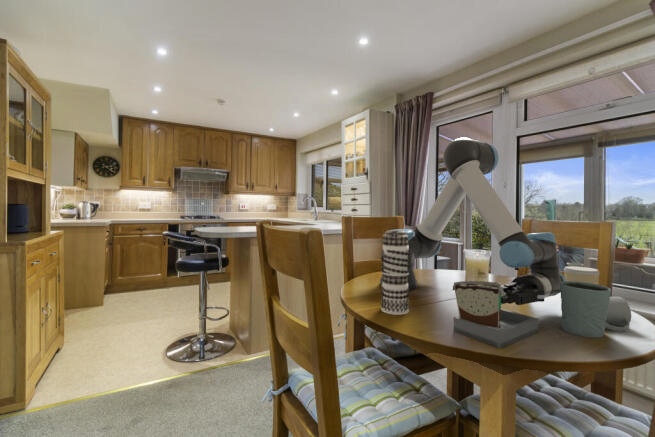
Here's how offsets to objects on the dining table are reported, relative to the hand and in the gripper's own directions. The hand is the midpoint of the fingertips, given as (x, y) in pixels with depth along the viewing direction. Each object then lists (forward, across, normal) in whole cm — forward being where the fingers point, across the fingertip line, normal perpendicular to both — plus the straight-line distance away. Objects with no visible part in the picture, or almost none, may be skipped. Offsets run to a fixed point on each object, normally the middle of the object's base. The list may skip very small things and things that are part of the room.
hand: (484, 300), depth 76 cm
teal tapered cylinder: (-26, -12, -9) cm, 30 cm away
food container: (-1, +1, -6) cm, 6 cm away
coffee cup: (-55, -2, -9) cm, 55 cm away
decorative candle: (+4, +26, -9) cm, 28 cm away
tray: (-6, 0, -9) cm, 11 cm away
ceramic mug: (-37, -14, -9) cm, 41 cm away
